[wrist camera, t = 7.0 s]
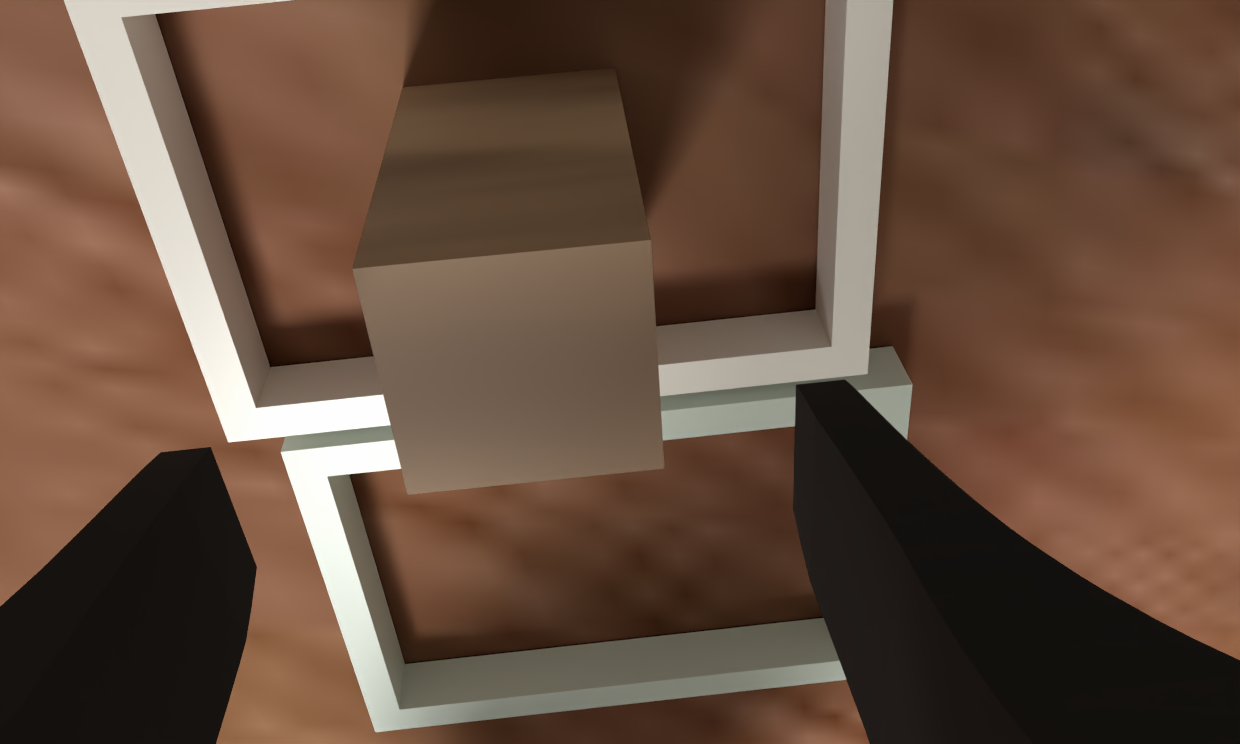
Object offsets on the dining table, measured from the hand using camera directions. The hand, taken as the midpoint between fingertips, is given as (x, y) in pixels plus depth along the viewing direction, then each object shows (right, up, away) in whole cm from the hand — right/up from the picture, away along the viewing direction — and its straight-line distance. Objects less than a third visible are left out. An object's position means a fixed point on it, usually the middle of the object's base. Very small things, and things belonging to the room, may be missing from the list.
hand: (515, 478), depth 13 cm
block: (-1, +5, +8) cm, 9 cm away
